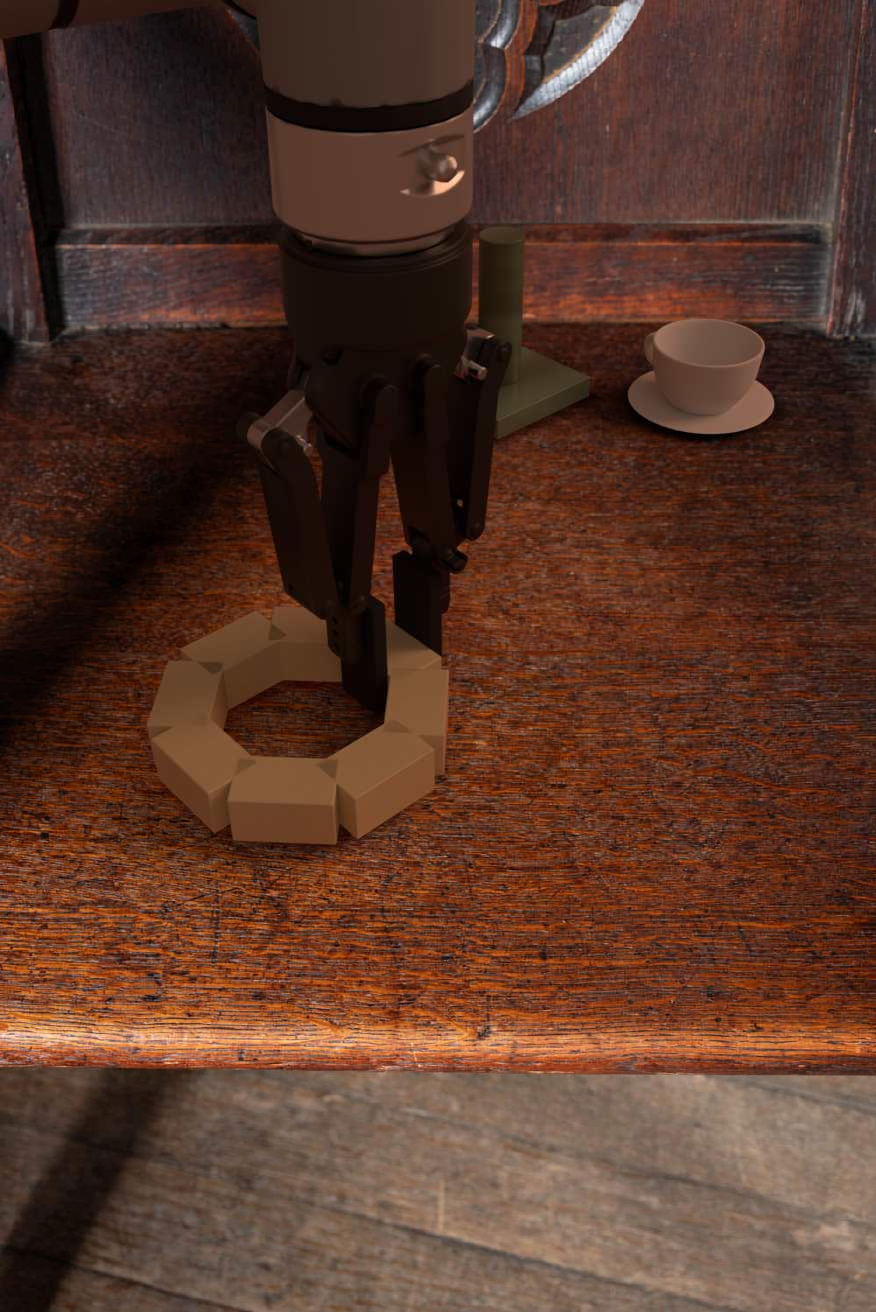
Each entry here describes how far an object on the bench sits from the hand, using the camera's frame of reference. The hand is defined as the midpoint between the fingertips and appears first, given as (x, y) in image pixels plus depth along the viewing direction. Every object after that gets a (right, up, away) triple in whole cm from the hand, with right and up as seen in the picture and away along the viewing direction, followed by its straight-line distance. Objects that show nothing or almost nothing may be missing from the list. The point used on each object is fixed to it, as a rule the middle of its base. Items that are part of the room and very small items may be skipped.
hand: (392, 683), depth 63 cm
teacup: (+20, +19, +24) cm, 37 cm away
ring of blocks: (-4, -2, -2) cm, 5 cm away
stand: (+7, +20, +26) cm, 33 cm away
